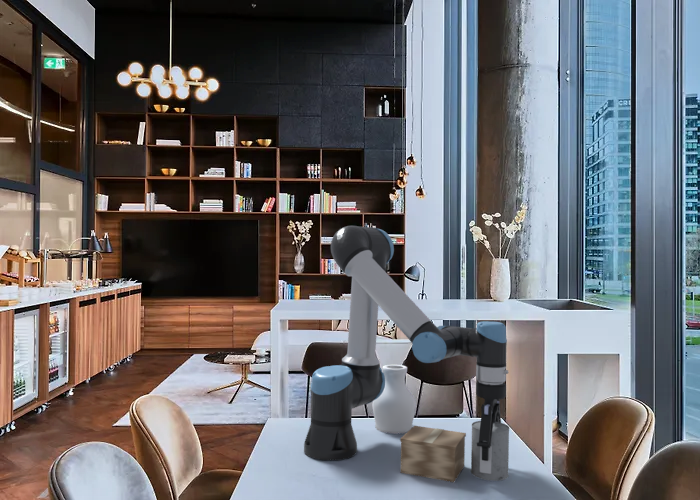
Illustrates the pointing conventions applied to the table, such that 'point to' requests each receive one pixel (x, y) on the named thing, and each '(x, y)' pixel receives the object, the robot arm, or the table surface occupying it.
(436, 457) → the box
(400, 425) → the vase
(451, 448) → the lid
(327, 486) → the table surface
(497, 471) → the grey cylinder
